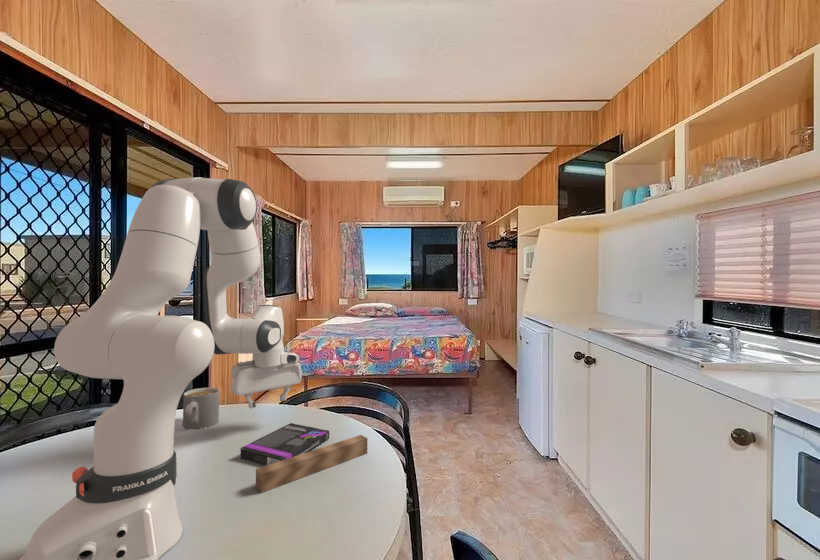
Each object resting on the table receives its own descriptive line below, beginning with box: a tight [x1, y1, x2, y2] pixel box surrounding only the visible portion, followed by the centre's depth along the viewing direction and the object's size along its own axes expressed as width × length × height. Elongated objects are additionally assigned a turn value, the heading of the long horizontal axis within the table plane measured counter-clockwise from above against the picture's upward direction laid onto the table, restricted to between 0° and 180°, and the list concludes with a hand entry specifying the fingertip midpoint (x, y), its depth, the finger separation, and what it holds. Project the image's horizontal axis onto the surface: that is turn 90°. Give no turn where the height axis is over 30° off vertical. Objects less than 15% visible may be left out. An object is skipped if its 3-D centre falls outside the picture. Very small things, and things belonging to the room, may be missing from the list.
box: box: [240, 422, 330, 466], centre depth 101 cm, size 14×4×20 cm
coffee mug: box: [182, 387, 220, 430], centre depth 117 cm, size 13×10×10 cm
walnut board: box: [255, 434, 368, 494], centre depth 90 cm, size 28×3×4 cm, turn 133°
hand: (268, 404), depth 112 cm, fingers open, 8 cm apart
